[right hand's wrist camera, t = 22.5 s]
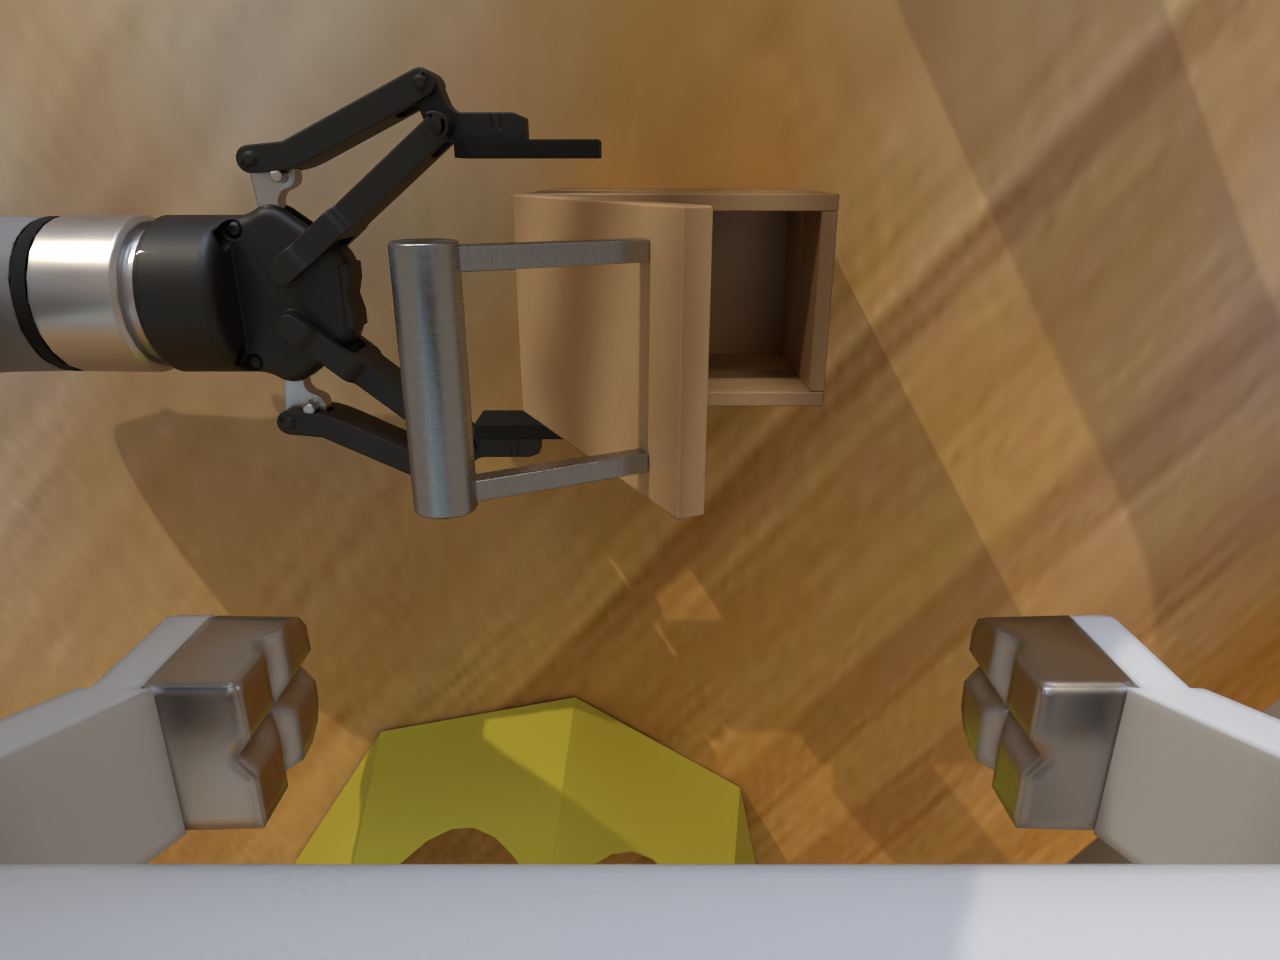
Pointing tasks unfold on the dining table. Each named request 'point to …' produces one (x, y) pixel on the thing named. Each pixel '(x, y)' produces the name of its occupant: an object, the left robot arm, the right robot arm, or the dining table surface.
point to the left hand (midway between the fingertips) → (603, 294)
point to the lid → (567, 350)
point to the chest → (761, 289)
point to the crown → (533, 793)
